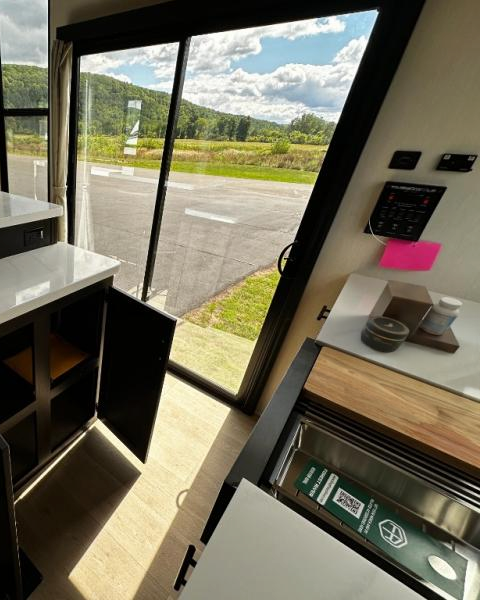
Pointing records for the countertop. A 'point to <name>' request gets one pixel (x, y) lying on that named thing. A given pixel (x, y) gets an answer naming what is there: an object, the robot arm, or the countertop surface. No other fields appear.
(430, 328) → the pill bottle
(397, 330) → the jar
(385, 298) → the step shelf
